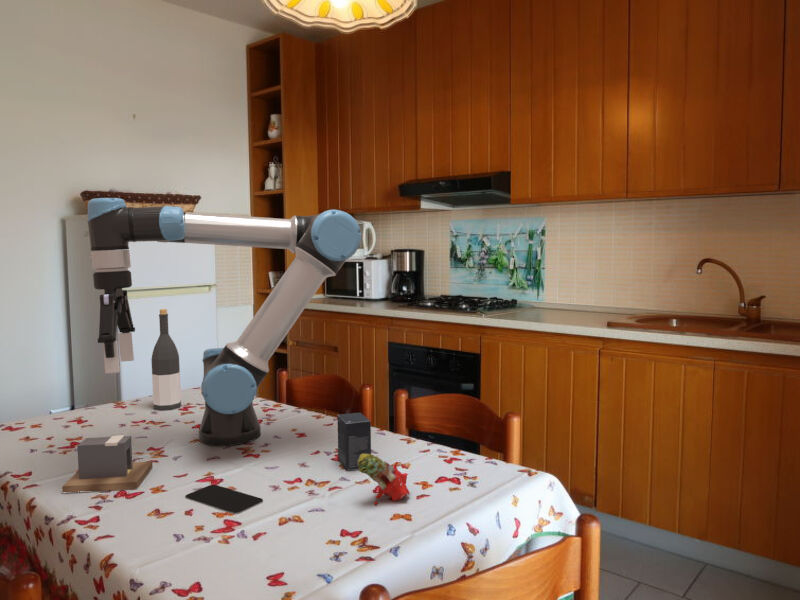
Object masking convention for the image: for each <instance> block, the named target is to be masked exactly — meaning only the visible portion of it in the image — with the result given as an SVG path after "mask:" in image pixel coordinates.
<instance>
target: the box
mask: <svg viewBox="0 0 800 600" xmlns="http://www.w3.org/2000/svg"><path fill="white" fill-rule="evenodd" d="M371 427H372V425H371V420H370V419H369V418H368V417H366V416H365V415H364V414H363V413H362V412H353V413H351V412H350V413H342V414H337V460H338V462H340V464H341V465H342V466H343V467H344V468H345V470H346V471H359V466H358V465H357V463H358V459H359V457H360V455H361V454H363V453H364V454H371V455H372V428H371Z"/></svg>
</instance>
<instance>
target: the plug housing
mask: <svg viewBox="0 0 800 600" xmlns="http://www.w3.org/2000/svg"><path fill="white" fill-rule="evenodd" d="M132 442H133V441H132V435H126V434H120V435H112V436H104V437H103V436H101V437H100V436H99V437H86V438H84V440H82V441H81V442H80V443H79V444H78V445H76V446H77V463H78V471H79V479H93V478H109V477H126V476H127V474H128V473H127V470H129V469H131V470H132V468H133V462H134V461H133V446H132V445H133V444H132Z"/></svg>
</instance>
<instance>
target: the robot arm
mask: <svg viewBox="0 0 800 600" xmlns="http://www.w3.org/2000/svg"><path fill="white" fill-rule="evenodd" d="M86 221H87V224H88V225H87V226H88V234H89V236H88V237H89V244H90V252H91V253H90V254H91V255H90V256H88V260H89V261H91V264H92V265H91V266H92V269H93V270H94V272H93V274H92V279H93V287H94V289H95V290H104V294H99V303H100V305H99V325H98V326H99V327H98V328H99V331H98V338H97V343H98V344H102V352H103V361H104V363H103V364H104V373H105V374H114V373H115V374H116V373H120V372H121V368H120V362H133V361H134V360H135V357H134V346H133V345H134V344H133V334H132V333H135V332H136V327H135V326H134V324H133V318H132V314H131V308H130V304H129V303H130V302H129V299H128V297H129V296H128V291H127V288H131V287H132V285H133V283H132V272H131V271H130V270H129V268H131V266H132V265H131V264H132V263H131V255H130V247H129V243H136V242H158V243H181V244H184V243H185V244H196V245H198V244H199V245H212V246H213V245H215V246H232V247H234V246H235V247H247V248H249V247H251V248H264V249H265V248H267V249H279V250H281V249H282V250H288V251H290V252H291V253H292V254H295V258H294V259H293V261H292V262H291V263H290V264H289V266H288V268H287V269H286V270H285V272H284V274H282V276H281V277H280V279H279V281H278V282H277V283H276V284H275V286H274V288H273V289H272V290H271V292H270V293H269V295H268V296H267V297H266V299H265V300H264V302H262V304H261V306H260V308H259V309H258V310H257V311H256V313H255V315H254V316H253V317H252V318H251V320H250V322H249V323H248V325H247V326H246V327H245V328H244V330H243V332H242V333H241V335H240V336H239V338H237V340H235V341H233V342H227V343H226V344H225V346H224V347H218V348H217V347H216V348H207V349H205V350H204V351H203V355H202V357H203V358H202V363H203V379H202V382H201V385H200V387H201V388H200V389H201V395H202V397H203V400H204V406H205V407H204V411H203V416H202V418H201V419H202V420H201V422H200V426H199V429H198V441H199V442H200V443H202V444H204V445H208V446H217V447H218V446H220V447H221V446H224V447H225V446H235V445H241V444H245V443H249V442H252V441H254V440H257V439H258V438H259V437H260V436H261V435H262V433H261V432H262V431H261V425H260V421H259V418H258V416H257V414H256V410H255V408H254V404H253V403H254V400H255V397H256V395H257V392H258V391H257V390H258V388H259V386H260V385H261V383H262V382H263V381H264V379H265V378H266V376H267V375H268V373H269V372H270V368H269V360H270V359H271V357H272V356H273V355H274V354H275V352H276V350H277V349H278V348H279V346H280V345H281V343H282V342H283V341H284V339H285V338H286V336H287V334H288V333H289V332H290V330H291V329H292V327H293V326H294V325H295V323H296V322H297V320H298V319H299V317H300V316H301V314H302V313H303V311H304V310H305V308H306V307H307V306H308V304H309V303H310V302H311V300H312V299H313V297H314V296H315V294H316V293H317V292H318V290H319V289H320V288H321V286H322V284H323V283H324V281H325V280H326V279H327V278H329V277H335V276H336V275H337V274H338V272H339V271H340V270H341V268H342V267H343V265H344V264H345V263H346V261H347V260H348V259H350V258H351V257H353V256H354V255H355V254H356V253H357V251H358V249H360V244H361V242H362V232H361V228H360V225H359V224H358V222H357V220H356V219H355V218H354V217H353V216H352V215H351V214H349V213H348V212H345V211H343V210H339V209H329V210H325V211H323V212H321V213H319V214H315V215H314V214H313V215H293V216H292V217H290V218H274V217H263V216H262V217H260V216H249V215H247V216H244V215H231V214H218V213H217V214H216V213H203V212H191V211H189V212H188V211H185V212H184V209H183V208H182V207H181V206H170V205H164V206H146V207H145V206H144V207H143V206H141V207H139V206H138V207H132V206H131V207H130V206H127V205H126V202H125V199H122V198H119V197H99V198H97V197H96V198H92V199H90V200H89V201H88V202H87V220H86ZM125 289H126V290H125ZM117 329H118V331H119V333H118V340H117V339H116V338H117ZM119 356H120V357H119Z"/></svg>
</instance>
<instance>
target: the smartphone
mask: <svg viewBox="0 0 800 600" xmlns="http://www.w3.org/2000/svg"><path fill="white" fill-rule="evenodd" d="M184 498H185V499H187V500H189V501H191V502H192V501H193V502H195V503H198V504H201V505H205V506H207V507H210V508H214V509H216V510H220V511H221V512H224V513H228V514H232V515H239V514H242V513H243V512H246V511H249V510H250V509H253V508H255V507H257V506H258V505H260V504H263V502H264V499H263V498H261V497H258V496H255V495H252V494H248V493H244V492H241V491H238V490H235V489H231V488H227V487H224V486H220V485H217V484H210V485H206V486H204V487H201V488H200V489H197V490H195V491H193V492H190V493H187V494H186V495H185V497H184Z"/></svg>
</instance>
